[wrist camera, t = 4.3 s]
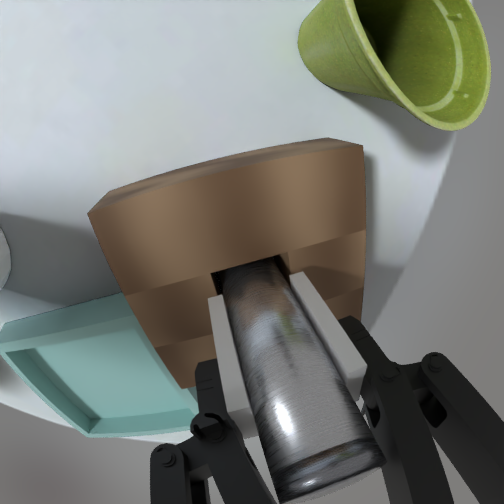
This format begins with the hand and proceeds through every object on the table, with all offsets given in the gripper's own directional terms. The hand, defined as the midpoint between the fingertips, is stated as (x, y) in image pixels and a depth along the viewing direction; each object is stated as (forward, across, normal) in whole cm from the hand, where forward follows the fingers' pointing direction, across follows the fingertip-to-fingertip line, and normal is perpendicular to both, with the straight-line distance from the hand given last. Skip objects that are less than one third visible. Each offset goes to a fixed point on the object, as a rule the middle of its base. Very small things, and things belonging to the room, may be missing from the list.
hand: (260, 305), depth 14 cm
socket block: (+5, 0, 0) cm, 5 cm away
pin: (+5, 0, 0) cm, 5 cm away
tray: (+5, -15, -8) cm, 18 cm away
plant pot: (+5, +9, +13) cm, 17 cm away
